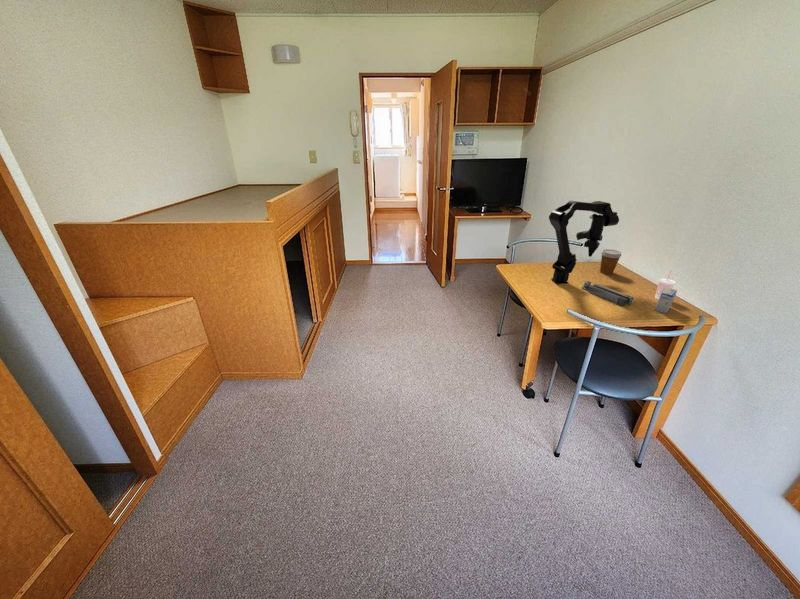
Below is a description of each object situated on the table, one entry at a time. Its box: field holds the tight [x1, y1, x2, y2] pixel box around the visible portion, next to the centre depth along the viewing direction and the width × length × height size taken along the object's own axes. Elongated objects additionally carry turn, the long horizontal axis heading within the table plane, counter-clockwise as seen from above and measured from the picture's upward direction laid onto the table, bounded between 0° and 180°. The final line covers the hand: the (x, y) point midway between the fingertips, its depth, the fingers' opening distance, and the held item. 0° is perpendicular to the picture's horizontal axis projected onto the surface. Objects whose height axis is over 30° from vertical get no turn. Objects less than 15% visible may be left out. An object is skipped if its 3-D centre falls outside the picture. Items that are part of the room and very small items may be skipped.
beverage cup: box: [654, 270, 676, 300], centre depth 154 cm, size 6×6×14 cm
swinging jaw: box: [592, 283, 635, 305], centre depth 159 cm, size 18×3×3 cm, turn 28°
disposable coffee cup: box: [599, 248, 622, 275], centre depth 184 cm, size 10×10×12 cm
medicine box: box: [654, 288, 678, 314], centre depth 146 cm, size 8×4×9 cm, turn 134°
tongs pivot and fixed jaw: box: [581, 280, 628, 307], centre depth 160 cm, size 23×5×4 cm, turn 25°
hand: (589, 256), depth 175 cm, fingers closed
